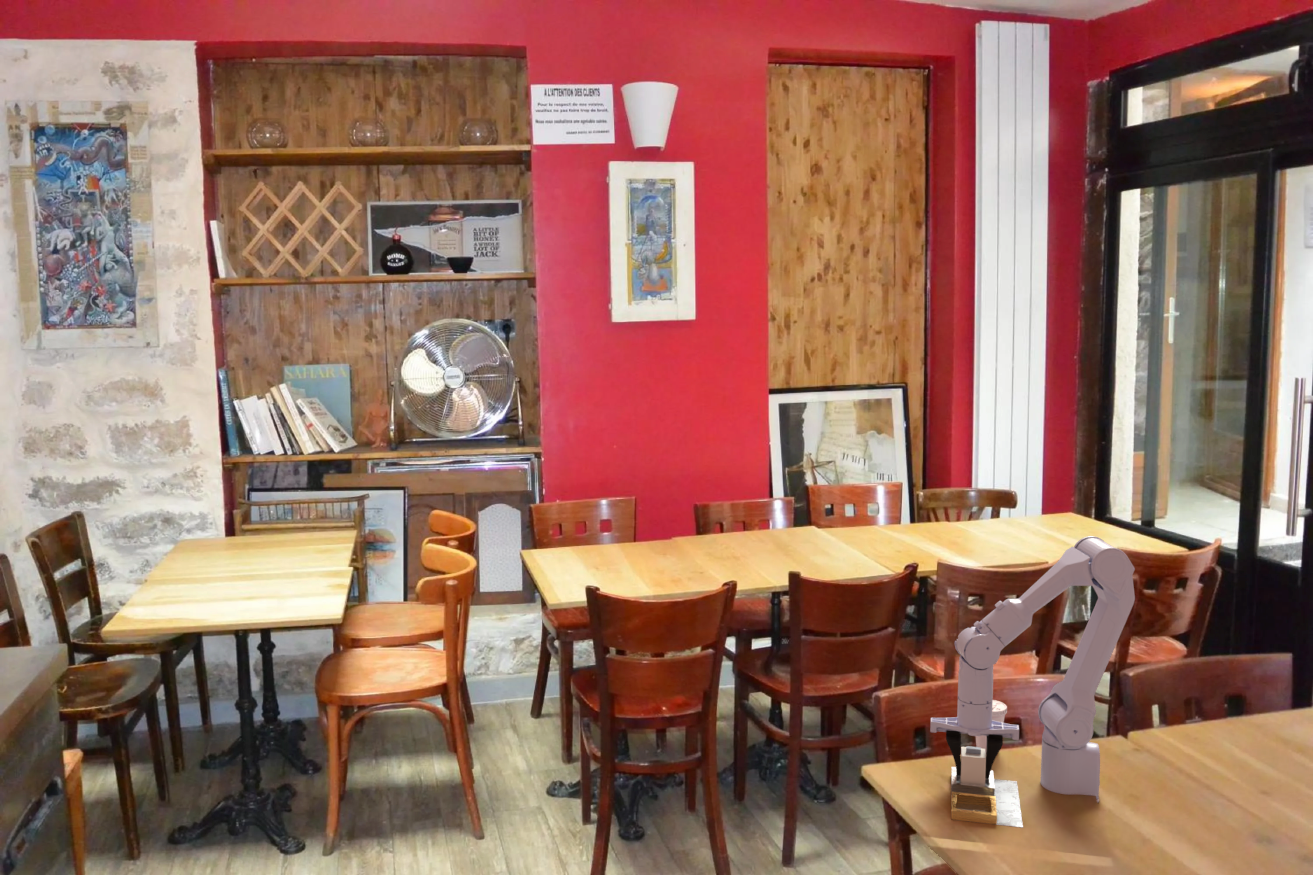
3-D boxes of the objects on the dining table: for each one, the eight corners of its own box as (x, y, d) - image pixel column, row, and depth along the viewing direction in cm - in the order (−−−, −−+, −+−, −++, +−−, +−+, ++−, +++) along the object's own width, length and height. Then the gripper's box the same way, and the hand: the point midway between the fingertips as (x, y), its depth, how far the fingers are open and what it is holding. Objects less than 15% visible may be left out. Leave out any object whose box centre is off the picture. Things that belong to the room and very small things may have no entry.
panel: (1016, 786, 192) (1017, 772, 192) (1022, 833, 176) (1023, 818, 176) (951, 779, 195) (951, 766, 195) (951, 825, 179) (951, 810, 179)
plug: (984, 781, 192) (985, 744, 191) (984, 791, 188) (986, 753, 187) (960, 779, 193) (961, 741, 192) (960, 789, 189) (961, 751, 188)
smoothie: (1001, 748, 208) (1004, 676, 206) (1009, 762, 202) (1011, 689, 200) (966, 747, 209) (968, 675, 207) (973, 761, 203) (975, 688, 201)
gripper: (930, 703, 187) (928, 779, 189) (1021, 710, 183) (1018, 788, 185) (931, 688, 193) (929, 762, 195) (1018, 695, 190) (1016, 771, 192)
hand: (972, 774), depth 190 cm, fingers closed on plug, 4 cm apart
